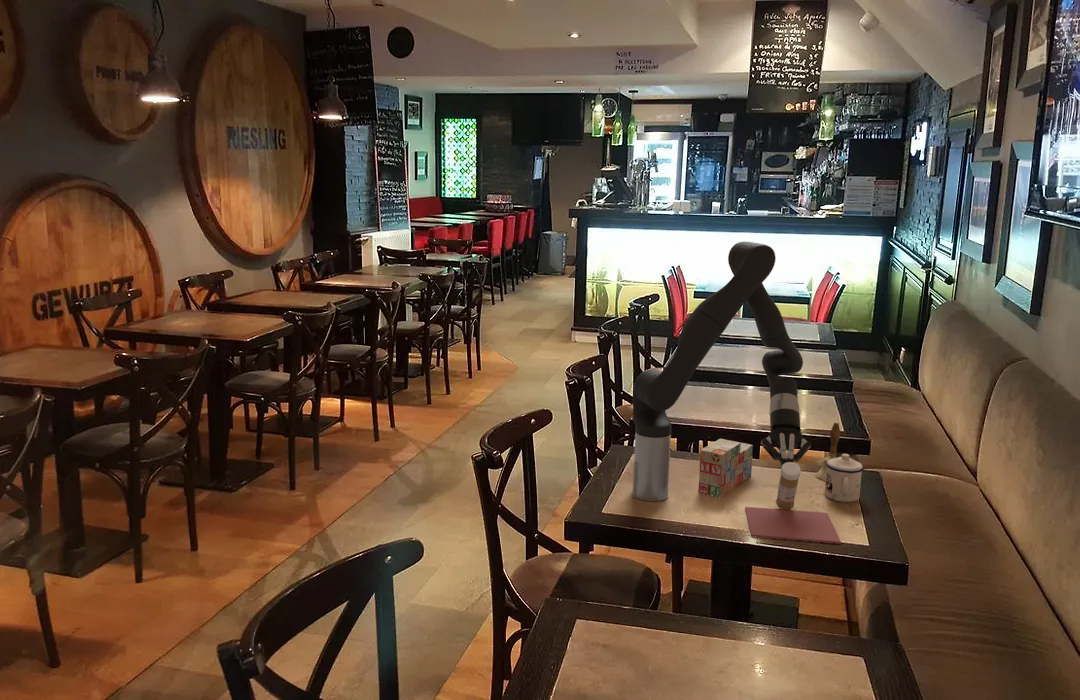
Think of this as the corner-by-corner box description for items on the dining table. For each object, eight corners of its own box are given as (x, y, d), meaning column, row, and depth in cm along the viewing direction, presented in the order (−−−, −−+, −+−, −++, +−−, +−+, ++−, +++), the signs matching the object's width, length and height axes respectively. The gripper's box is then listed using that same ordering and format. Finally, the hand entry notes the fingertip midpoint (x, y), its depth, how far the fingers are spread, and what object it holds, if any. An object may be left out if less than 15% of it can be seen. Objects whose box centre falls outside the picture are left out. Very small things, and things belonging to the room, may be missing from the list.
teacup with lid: (822, 488, 219) (826, 447, 217) (858, 492, 217) (862, 451, 214) (825, 504, 208) (829, 461, 206) (862, 509, 205) (867, 465, 203)
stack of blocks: (730, 471, 232) (733, 430, 229) (751, 476, 228) (754, 434, 226) (697, 492, 215) (700, 448, 213) (719, 498, 211) (722, 453, 209)
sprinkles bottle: (793, 498, 206) (800, 462, 198) (794, 512, 203) (801, 476, 195) (775, 496, 207) (781, 460, 199) (775, 510, 204) (781, 474, 195)
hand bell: (820, 470, 234) (825, 417, 230) (849, 476, 229) (855, 422, 226) (811, 478, 227) (816, 424, 224) (841, 485, 222) (846, 429, 219)
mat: (751, 536, 188) (751, 534, 188) (745, 508, 204) (745, 506, 204) (840, 544, 185) (840, 541, 185) (827, 515, 201) (827, 512, 201)
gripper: (760, 405, 210) (762, 466, 200) (813, 408, 208) (817, 469, 198) (757, 419, 216) (758, 479, 206) (808, 422, 214) (812, 482, 204)
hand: (787, 474), depth 202 cm, fingers closed
